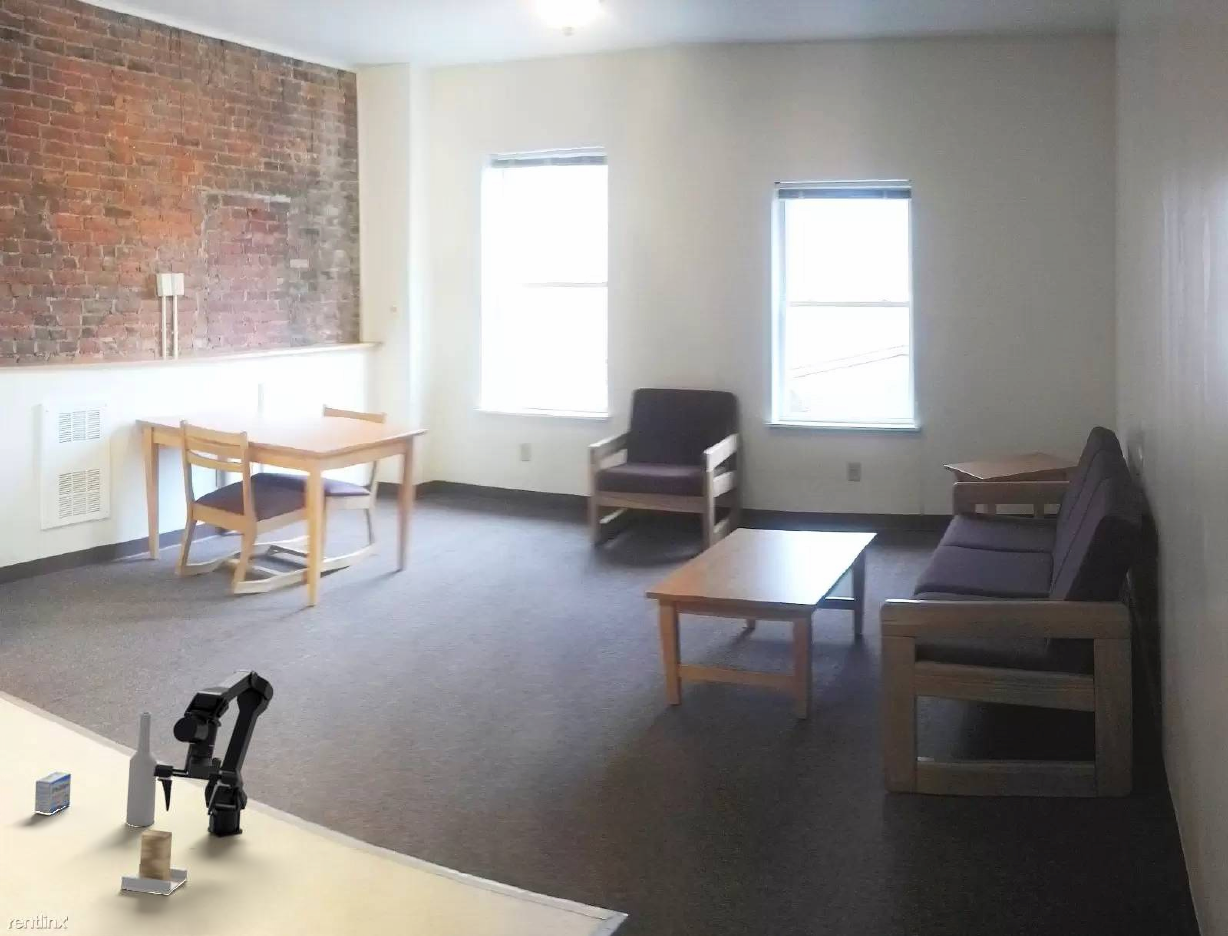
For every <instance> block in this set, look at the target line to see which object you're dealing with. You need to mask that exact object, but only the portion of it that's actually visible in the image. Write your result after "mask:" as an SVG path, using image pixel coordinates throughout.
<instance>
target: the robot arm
mask: <svg viewBox="0 0 1228 936" xmlns="http://www.w3.org/2000/svg"><path fill="white" fill-rule="evenodd" d="M235 698H236V704H237V707H238V710H239V711H238V713H237V714H238V715H237V717H236V721H235V723H234V727H233V730H232V732H231V735H230V736H231V737H230V739H229V741H228V745H227V749H226V752H225V754H224V758H223V761H222V758H221V757H213V756H214V750H215V744H216V741H217V736H218V731H219V728H221V727H222V723H221V721H220V719H221V718H222V717H223V715H225V714H226V712H227V711H228V710H229V709H230V702H231V701H233V700H234V699H235ZM273 698H274V688H273V686H272V684H271V683H270V682H269V680H267V679H266V678H264V677H262V676H260V675H259V674H258V673H257V672H256V671H255V670H251V669H250V670H249V669H242V668H240V669H236V670H235V671H234V673H233V674H232V675H231V676H229V677H228V678H227V679H225V680H224V681H222V682H220V683H219V684H218V685H217V686H215V687H207V688H205V687H204V688H202V689H200V690H198V691H197V692H196V693H195V695H193V698H192V700H191V701H190V702H189V705H188V706H187V708H186V710H185V711H184V713H183V717H181V718H179V719H178V720H177V721H176V723H175V724H174V725H173V729H172V733H173V736H174V738H175V739H176V740H177V741H178V742H180V743H188V748H187V753H186V757H185V763H184V767H183V769H179V768H174V765H170V764H169V765H168V764H162V763H157V765H155V766H154V769H153V774H152V776H154V777H156V781H158V782H161V785H162V788H163V789H162V790H163V793H164V794H163V795H164V801H165V802H164V803H165V812H169V809H170V806H171V805H170V804H171V794H172V785H173V780H172V779H171V778H172V777H174V778H175V777H176V778H185V779H193V780H194V779H195V780H204V781H208V782H207V783H206V786H205V788H204V801H205V808H207V814H206V815H207V816H209V817H208V818H209V819H208V820H209V822H208V826H207V830H208V831H209V832H210V833H212V834H213V835H215V836H216V837H218V838H221V837H226V836H230V835H235V834H240V833H243V830H244V829H243V828H241V826H240V825H241V813H242V811H244V810H246V806H247V804H248V795H247V794H246V792H245V791H244V780H243V776H242V773H241V772H242V768H243V766H244V765H243V764H244V763H245V762H244V761H245V758H246V756H247V752H248V748H249V747H250V746H249V745H250V743H251V739H252V736H253V733H254V730H255V727H256V724H257V720H258V719H259V717H260V716H261V715H262V714H263V713H264V712H265V711H266V710H267V709H268V707H269V705H270V702H271V701H272V699H273Z"/></svg>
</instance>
